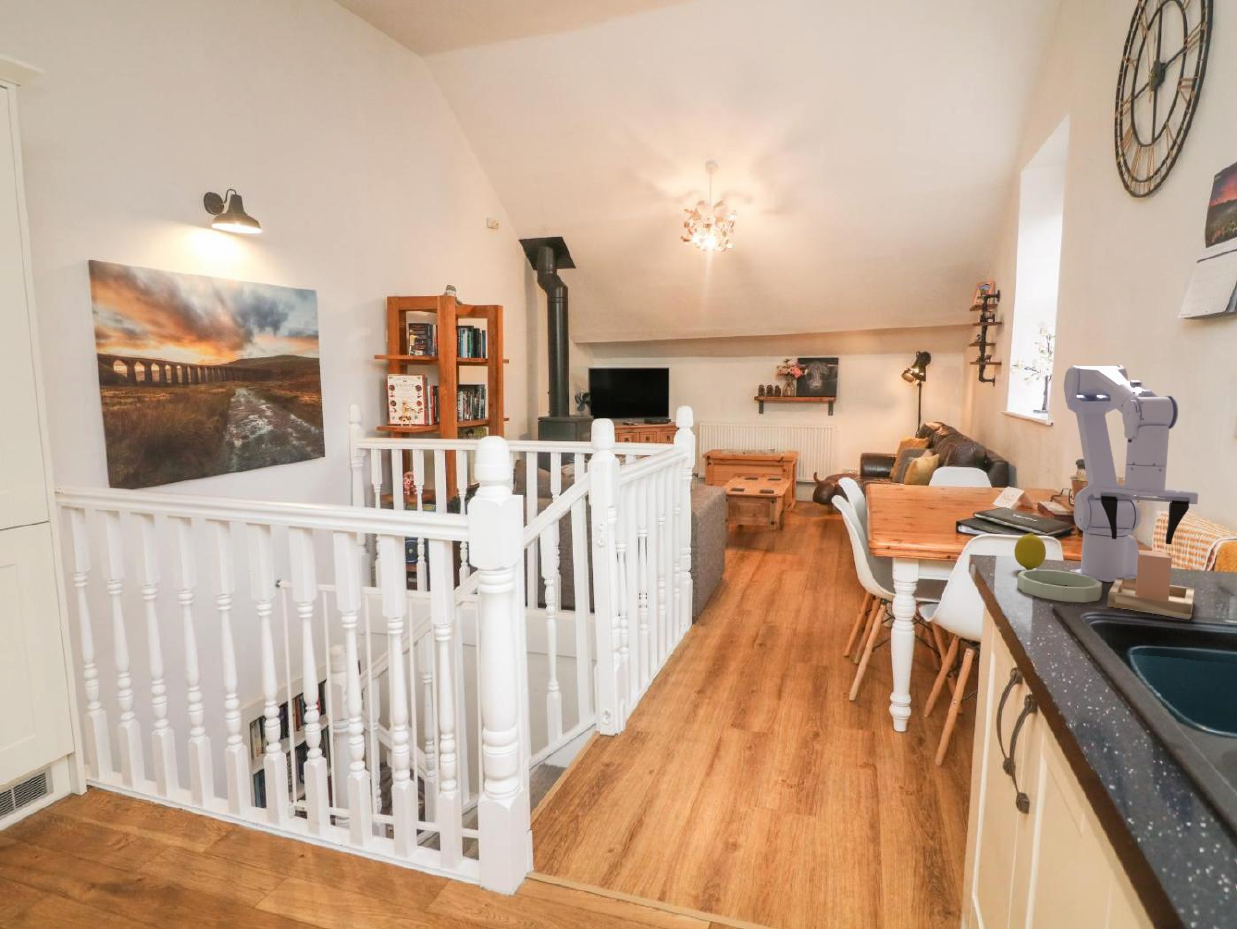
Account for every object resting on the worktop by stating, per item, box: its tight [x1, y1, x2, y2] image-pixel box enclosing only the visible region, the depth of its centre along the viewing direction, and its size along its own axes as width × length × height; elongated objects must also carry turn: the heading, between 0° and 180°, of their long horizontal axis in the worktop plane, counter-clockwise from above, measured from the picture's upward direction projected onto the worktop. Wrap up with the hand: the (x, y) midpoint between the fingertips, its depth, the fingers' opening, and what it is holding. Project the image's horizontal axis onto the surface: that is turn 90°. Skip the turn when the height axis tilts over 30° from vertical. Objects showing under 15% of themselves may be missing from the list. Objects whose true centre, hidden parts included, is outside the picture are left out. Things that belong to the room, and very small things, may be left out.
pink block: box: [1135, 549, 1173, 601], centre depth 118 cm, size 4×4×8 cm
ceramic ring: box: [1016, 568, 1103, 603], centre depth 127 cm, size 13×13×2 cm
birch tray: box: [1107, 577, 1195, 619], centre depth 119 cm, size 13×11×2 cm
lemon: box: [1014, 532, 1047, 570], centre depth 141 cm, size 6×6×8 cm
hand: (1140, 540), depth 122 cm, fingers open, 7 cm apart
